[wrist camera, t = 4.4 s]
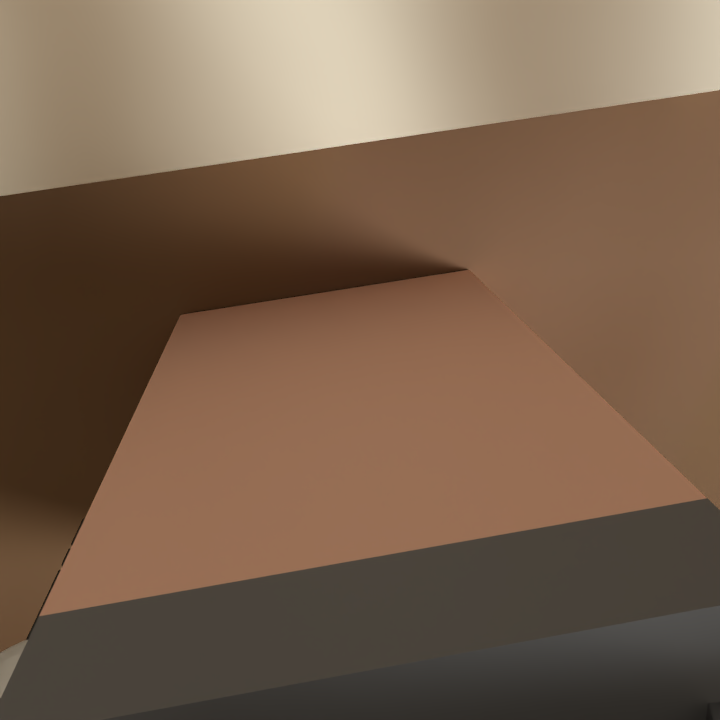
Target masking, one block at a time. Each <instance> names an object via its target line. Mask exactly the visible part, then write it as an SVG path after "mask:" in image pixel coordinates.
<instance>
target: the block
mask: <svg viewBox="0 0 720 720" xmlns="http://www.w3.org/2000/svg"><path fill="white" fill-rule="evenodd" d="M713 702H720V510H719V509H718V508H717V507H716V506H715V505H714V504H713V503H711V502H710V501H709V500H708V499H707V498H706V497H705V496H704V495H703V494H702V493H701V492H700V491H699V490H698V489H697V488H696V487H695V486H694V485H693V484H692V483H691V482H690V481H689V480H687V479H686V478H685V477H684V476H683V475H682V474H681V473H680V472H679V471H678V470H677V469H676V468H675V467H674V466H673V465H672V464H671V463H670V462H669V461H668V460H667V459H666V458H665V457H664V456H662V455H661V454H660V453H659V452H658V451H657V450H656V449H655V448H654V447H653V446H652V445H651V444H650V443H649V442H648V441H647V440H646V439H645V438H644V437H643V436H642V435H641V434H640V433H638V432H637V431H636V430H635V429H634V428H633V427H632V426H631V425H630V424H629V423H628V422H627V421H626V420H625V419H624V418H623V417H622V416H621V415H620V414H619V413H618V412H617V411H616V410H615V409H613V408H612V407H611V406H610V405H609V404H608V403H607V402H606V401H605V400H604V399H603V398H602V397H601V396H600V395H599V394H598V393H597V392H596V391H595V390H594V389H593V388H592V387H591V386H590V385H588V384H587V383H586V382H585V381H584V380H583V379H582V378H581V377H580V376H579V375H578V374H577V373H576V372H575V371H574V370H573V369H572V368H571V367H570V366H569V365H568V364H567V363H566V362H564V361H563V360H562V359H561V358H560V357H559V356H558V355H557V354H556V353H555V352H554V351H553V350H552V349H551V348H550V347H549V346H548V345H547V344H546V343H545V342H544V341H543V340H542V339H541V338H539V337H538V336H537V335H536V334H535V333H534V332H533V331H532V330H531V329H530V328H529V327H528V326H527V325H526V324H525V323H524V322H523V321H522V320H521V319H520V318H519V317H518V316H517V315H516V314H514V313H513V312H512V311H511V310H510V309H509V308H508V307H507V306H506V305H505V304H504V303H503V302H502V301H501V300H500V299H499V298H498V297H497V296H496V295H495V294H494V293H493V292H492V291H490V290H489V289H488V288H487V287H486V286H485V285H484V284H483V283H482V282H481V281H480V280H479V279H478V278H477V277H476V276H475V275H474V274H473V273H472V272H471V271H470V270H464V271H458V272H451V273H445V274H438V275H432V276H426V277H419V278H413V279H406V280H400V281H394V282H387V283H381V284H374V285H368V286H362V287H355V288H349V289H342V290H336V291H330V292H323V293H317V294H310V295H304V296H298V297H291V298H285V299H279V300H272V301H266V302H259V303H253V304H247V305H240V306H234V307H227V308H221V309H215V310H208V311H202V312H195V313H189V314H183V315H180V317H179V319H178V321H177V323H176V325H175V327H174V330H173V332H172V334H171V336H170V338H169V340H168V342H167V344H166V347H165V349H164V351H163V353H162V355H161V357H160V359H159V362H158V364H157V366H156V368H155V370H154V372H153V374H152V376H151V379H150V381H149V383H148V385H147V387H146V389H145V391H144V394H143V396H142V398H141V400H140V402H139V404H138V406H137V408H136V411H135V413H134V415H133V417H132V419H131V421H130V423H129V425H128V428H127V430H126V432H125V434H124V436H123V438H122V440H121V443H120V445H119V447H118V449H117V451H116V453H115V455H114V457H113V460H112V462H111V464H110V466H109V468H108V470H107V472H106V475H105V477H104V479H103V481H102V483H101V485H100V487H99V489H98V492H97V494H96V496H95V498H94V500H93V502H92V504H91V507H90V509H89V511H88V513H87V515H86V517H85V519H84V521H83V524H82V526H81V528H80V530H79V532H78V534H77V536H76V539H75V541H74V543H73V545H72V547H71V549H70V551H69V553H68V556H67V558H66V560H65V562H64V564H63V566H62V568H61V571H60V573H59V575H58V577H57V579H56V581H55V583H54V585H53V588H52V590H51V592H50V594H49V596H48V598H47V600H46V603H45V605H44V607H43V609H42V611H41V613H40V615H39V617H38V620H37V622H36V624H35V626H34V628H33V630H32V632H31V635H30V637H29V639H28V641H27V643H26V645H25V647H24V649H23V652H22V654H21V656H20V658H19V660H18V662H17V664H16V667H15V669H14V671H13V673H12V675H11V677H10V679H9V681H8V684H7V686H6V688H5V690H4V692H3V694H2V696H1V699H0V720H706V715H707V705H708V703H713Z"/></svg>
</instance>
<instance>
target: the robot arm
mask: <svg viewBox="0 0 720 720" xmlns="http://www.w3.org/2000/svg"><path fill="white" fill-rule="evenodd" d="M84 519H85V518H84ZM84 519H83V520H82V522H81V524H80V526H79V529H78V531H77V533H76V535H75V537H74V539H73V541H72V543H71V545H73V543H74V541H75V539H76V536H77V534H78V532H79V530H80V528H81V526H82V524H83V521H84ZM69 551H70V549H69V550H68V552H67V554H66V556H65V558H64V560H63V563H62V566H63V564H64V562H65V560H66V558H67V556H68V553H69ZM60 571H61V570H59V571H58V573H57V575H56V577H55V580H54V582H53V584H52V586H51V588H50V590H49V592H48V594H47V597H46V599H45V601H44V603H43V605H42V607H41V609H40V611H39V614H38V616H37V618H36V620H35V622H34V624H33V626H32V628H31V631H30V633H29V635H28V637H27V639H26V641H23V642H20V643H18V644H16V645H14V646H12V647H10V648H8V649H6V650H4V651H3V652H1V653H0V699H1V696H2V694H3V692H4V690H5V688H6V686H7V684H8V681H9V679H10V677H11V675H12V673H13V671H14V669H15V667H16V664H17V662H18V660H19V658H20V656H21V654H22V652H23V649H24V647H25V645H26V643H27V641H28V639H29V637H30V635H31V632H32V630H33V628H34V626H35V624H36V622H37V620H38V617H39V615H40V613H41V611H42V609H43V607H44V605H45V603H46V600H47V598H48V596H49V594H50V592H51V590H52V588H53V585H54V583H55V581H56V579H57V577H58V575H59V573H60ZM706 720H720V702H713V703H708V705H707V715H706Z"/></svg>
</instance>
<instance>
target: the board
mask: <svg viewBox="0 0 720 720" xmlns="http://www.w3.org/2000/svg"><path fill="white" fill-rule="evenodd" d="M716 90H720V0H0V196H5V195H12V194H18V193H25V192H32V191H39V190H45V189H52V188H59V187H66V186H72V185H79V184H86V183H93V182H100V181H106V180H113V179H120V178H127V177H133V176H140V175H147V174H154V173H161V172H167V171H174V170H181V169H188V168H194V167H201V166H208V165H215V164H222V163H228V162H235V161H242V160H249V159H255V158H262V157H269V156H276V155H282V154H289V153H296V152H303V151H310V150H316V149H323V148H330V147H337V146H343V145H350V144H357V143H364V142H371V141H377V140H384V139H391V138H398V137H404V136H411V135H418V134H425V133H431V132H438V131H445V130H452V129H459V128H465V127H472V126H479V125H486V124H492V123H499V122H506V121H513V120H520V119H526V118H533V117H540V116H547V115H553V114H560V113H567V112H574V111H581V110H587V109H594V108H601V107H608V106H614V105H621V104H628V103H635V102H641V101H648V100H655V99H662V98H669V97H675V96H682V95H689V94H696V93H702V92H709V91H716Z"/></svg>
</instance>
